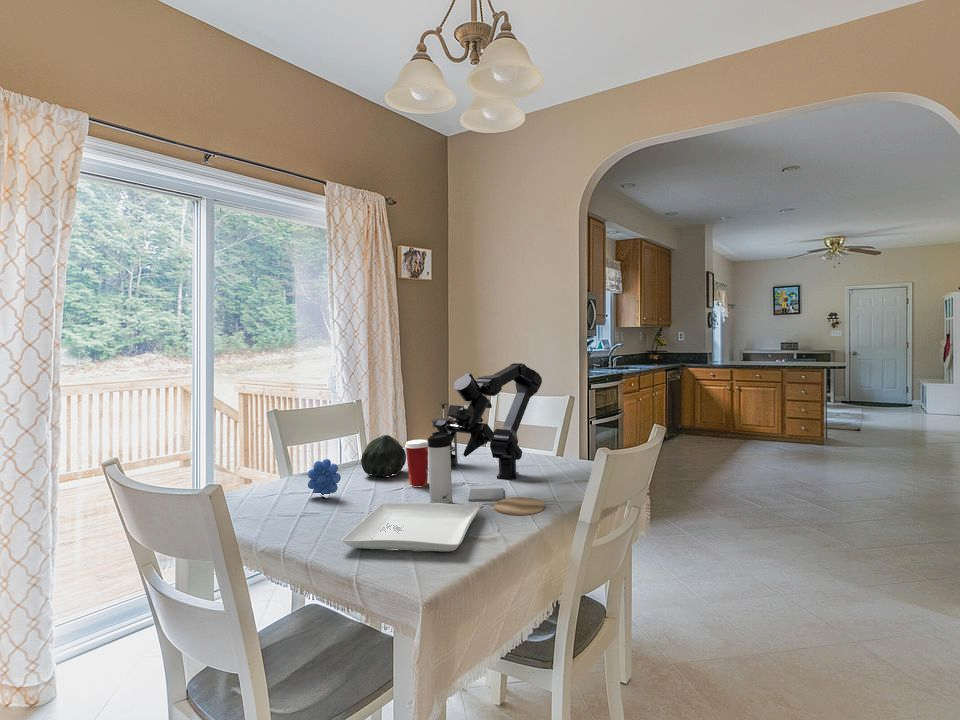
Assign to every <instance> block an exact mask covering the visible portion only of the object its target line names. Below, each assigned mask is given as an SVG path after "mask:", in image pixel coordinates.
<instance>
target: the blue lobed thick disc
mask: <svg viewBox="0 0 960 720" xmlns="http://www.w3.org/2000/svg"><path fill="white" fill-rule="evenodd" d="M338 471H339V467H338V464H336V463H332V462H331V459H329V458H325V459H323V460H322V461H320V460H317V461H315V462H314V463H313V468H311V469H310V470H308V473H307V477H308V478H309V480H308V482H307V488H309V489H310V490H312V494H313V493H321V494H322V495H324V494H330V495H331V494H334V493H335V494H336V493H337V491H338V488H339V487H338V484H339V482H340V481H341V475H340V473H337V472H338Z"/></svg>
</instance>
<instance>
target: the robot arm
mask: <svg viewBox="0 0 960 720" xmlns="http://www.w3.org/2000/svg"><path fill="white" fill-rule="evenodd" d="M511 381H514V383H515V384H514V385H515V389H516V394H515V396H514V399H513V400H512V404H511V406H510V408H509V410H508V413H507V415H506V418H505V421H504V423H503V426H502V427H501V428H495V429H494V431H493V429H492V427H490V426H489V424H488V423H486V422H485V423H484V422H483V421H484V419H483V415H484V413H485V411H486V409H492V408H493V405H492V402H491V399H490V398H489V399H488V396H489V397H495V396H497V395H498V394H499V393H500V392H501V391H502V387H504V386H505V385H507V384H508V383H511ZM542 383H543V379H542V376H541V375H540V373H539V372H538V371H536V370H535V369H532V368H530V367H528V366H527V365H526V364H525V363H522V362H521V363H515V362H514V363H510V364H509V366H507V367H504V368H503V369H502V370H500V371H497V372H496V373H493V374H491V375H483V376H480V377H476V379H475V378H474V376H473V374H472V373H469V372H468V373H465V374H464V375H463V376H460V377H459V378H458V379H457V380H455V381H454V384H453V388H454V389H455V390H456V392H457V393H458V395H459V396H460V397H461V399H462V400H463V401H464V402H467V403H466V404H464V405H457V404H456V405H453V404H450V405H449V404H448V405H449V406H448V409H447V414H446V416H447V417H449V418H454V420H453V421H454V422H455V425H453V424H452V423H451V422H450V421H449V420H438V421H437V423H436V425H435V427H434V428H436V429H437V432H440V434H448V433H451V436H450V443H451V441H452V442H453V441H454V438H453V436H455V434H456V433H461V434H468V435H470V438H469V440H468V442H467V444H466V446H465V449H464V450H463V457H467V456H469V455H471V454H472V453H474V451H476V450H477V449H479V448H480V447H482V446H484V445H485V444H488V443H489V448H490V452H491V455H492V458H493V459H498V474H497V476H496V479H510V480H511V479H517V478H518V476H519V473H520V472H518V471H517V461H519V460H521V459H522V457H523V450H522V449H521V448H520V446H519V445H518V444H519V438H518V430H519V427H520V426H521V422H522V420H523V418H524V415H525V413H526V409H527V406H528V404H529V401H530V399H531V398H532V397H533V396H535V394H537V393H538V391H539V390H540V388H541V385H542Z"/></svg>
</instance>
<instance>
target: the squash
mask: <svg viewBox="0 0 960 720" xmlns="http://www.w3.org/2000/svg"><path fill="white" fill-rule="evenodd" d="M403 447H404V446H402V445H401V443H399V441H398V440H396V439H395V438H394V437H392V436H390V435H388V434H385V435H384V434H383V435H382V436H378V437H377V438H375V439H373V440H372V441H370V442H369V443H368V444H367V445H366V447H365V449H364V450H363V452H362V453H361V455H362V456H361V458H360V462H361V467H362V469H363V471H364V473H365V474H366V475H369V474H372V475H371V476H374V475H376V476H378V477H382V476H383V475H384V476H390V477H392V476H391V475H392V474H397V475H398V474H399V473H400V472H401V471H402V470H403V469H404V466H405V464H406V463H407V462H406V461H407V453H406V451H405V449H404V448H403ZM399 471H400V472H399ZM381 475H382V476H381ZM384 476H383V477H384Z"/></svg>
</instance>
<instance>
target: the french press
mask: <svg viewBox="0 0 960 720" xmlns="http://www.w3.org/2000/svg"><path fill="white" fill-rule="evenodd" d="M448 405H449V402H439V403H437V406H441V409H442V416H443V417H442V418H441V417H440V418H434V419H431V423H432V427H433V428H436V427H435V425H436V423H437V421H438V420H449V421H450V422H451V423H452V424H453V425H456V423H455V422H454V421H453V420H454V418H452V417H445V411H444V409H445V406H448ZM457 433H458V432H456V434H455V436H453V440H452V441H451V443H450V455H451V469H453V468H452V467H455V468H457V467H459V461H458V459H459V458H458V443H457V442H458V441H457V440H458V438H457ZM438 434H440V432H439V431H435V432H432V433H431V436H433V435H438ZM453 441H454V446H453V444H452V442H453ZM453 452H454V454H453ZM456 466H457V467H456Z"/></svg>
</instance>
